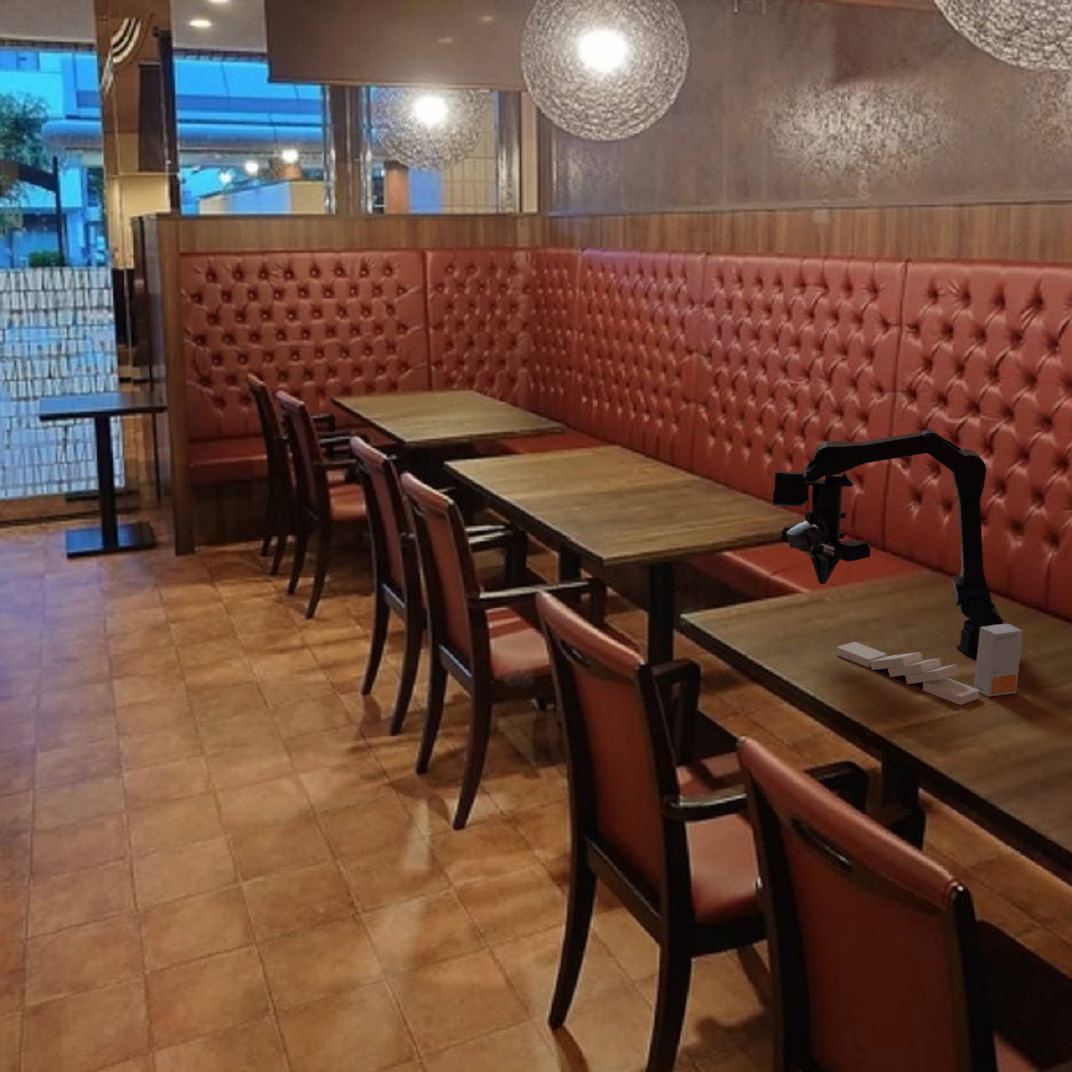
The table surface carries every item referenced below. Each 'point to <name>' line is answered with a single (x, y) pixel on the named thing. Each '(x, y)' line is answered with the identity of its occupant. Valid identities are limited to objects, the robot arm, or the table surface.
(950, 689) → the domino
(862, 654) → the domino
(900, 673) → the domino
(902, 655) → the domino
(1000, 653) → the skincare box
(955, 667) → the domino
